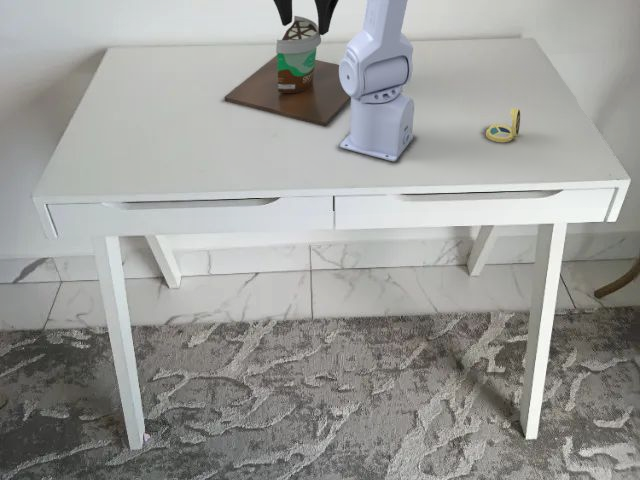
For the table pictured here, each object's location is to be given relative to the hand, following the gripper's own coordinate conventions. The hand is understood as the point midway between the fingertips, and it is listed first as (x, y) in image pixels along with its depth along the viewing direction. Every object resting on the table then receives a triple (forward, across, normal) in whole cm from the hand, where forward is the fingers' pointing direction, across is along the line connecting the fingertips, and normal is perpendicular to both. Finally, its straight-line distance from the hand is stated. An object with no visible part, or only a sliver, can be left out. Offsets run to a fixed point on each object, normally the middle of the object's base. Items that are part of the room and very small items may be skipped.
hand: (305, 28), depth 114 cm
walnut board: (+10, 0, -2) cm, 11 cm away
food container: (+10, 0, -2) cm, 10 cm away
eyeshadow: (+11, +37, +1) cm, 39 cm away
